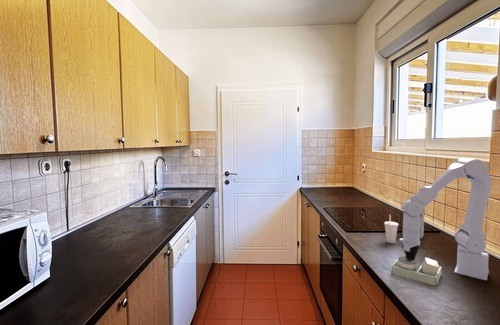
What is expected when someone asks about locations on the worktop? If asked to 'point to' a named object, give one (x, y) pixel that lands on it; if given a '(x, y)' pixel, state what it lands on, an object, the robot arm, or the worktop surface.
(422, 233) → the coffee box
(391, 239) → the smoothie
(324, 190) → the worktop surface
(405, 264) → the tin
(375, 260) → the worktop surface
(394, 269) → the caddy
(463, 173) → the robot arm
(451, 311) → the worktop surface
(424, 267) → the cube
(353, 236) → the worktop surface
